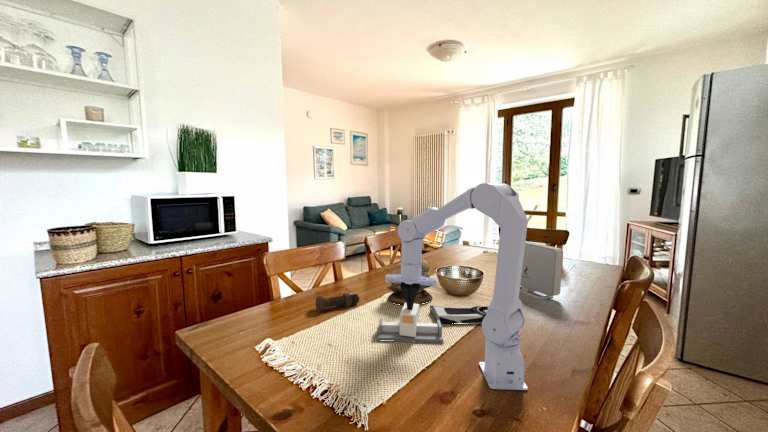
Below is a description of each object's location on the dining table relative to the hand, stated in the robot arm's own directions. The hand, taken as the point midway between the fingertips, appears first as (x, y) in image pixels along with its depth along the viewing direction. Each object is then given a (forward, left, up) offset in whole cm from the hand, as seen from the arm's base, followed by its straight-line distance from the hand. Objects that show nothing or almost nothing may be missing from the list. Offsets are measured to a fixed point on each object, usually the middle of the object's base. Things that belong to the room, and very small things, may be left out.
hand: (410, 308), depth 89 cm
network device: (+40, -51, -8) cm, 65 cm away
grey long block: (0, 0, -8) cm, 8 cm away
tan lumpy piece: (+27, -2, -8) cm, 28 cm away
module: (0, 0, -6) cm, 6 cm away
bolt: (+18, +24, -8) cm, 31 cm away
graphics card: (+11, -21, -8) cm, 25 cm away
